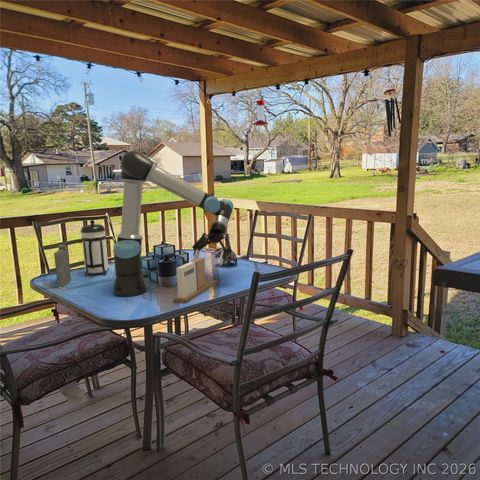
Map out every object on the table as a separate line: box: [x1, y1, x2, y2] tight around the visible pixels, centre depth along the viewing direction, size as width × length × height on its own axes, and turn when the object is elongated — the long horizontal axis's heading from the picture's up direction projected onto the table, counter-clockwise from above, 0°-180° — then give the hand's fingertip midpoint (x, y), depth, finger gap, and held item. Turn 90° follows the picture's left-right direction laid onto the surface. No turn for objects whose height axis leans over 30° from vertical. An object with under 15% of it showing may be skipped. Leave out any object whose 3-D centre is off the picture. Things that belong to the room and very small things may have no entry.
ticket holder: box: [173, 261, 219, 304], centre depth 177 cm, size 30×6×15 cm, turn 157°
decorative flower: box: [214, 247, 238, 268], centre depth 226 cm, size 15×12×15 cm
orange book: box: [190, 257, 206, 289], centre depth 179 cm, size 8×3×13 cm, turn 157°
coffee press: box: [80, 219, 110, 277], centre depth 214 cm, size 17×16×30 cm
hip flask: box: [53, 244, 72, 288], centre depth 198 cm, size 16×4×20 cm, turn 11°
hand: (206, 263), depth 184 cm, fingers open, 13 cm apart
